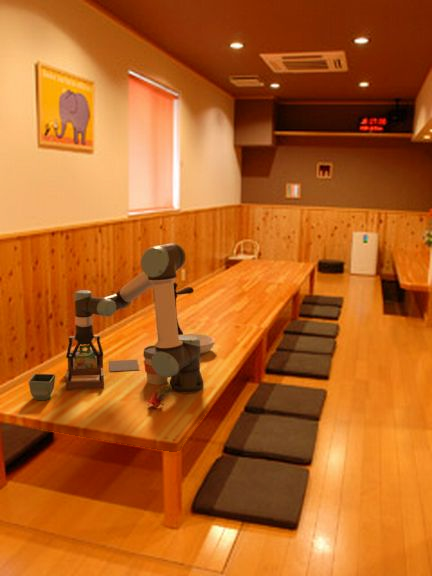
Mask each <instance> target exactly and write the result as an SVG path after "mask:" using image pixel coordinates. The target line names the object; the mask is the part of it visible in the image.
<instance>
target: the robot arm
mask: <svg viewBox="0 0 432 576" xmlns="http://www.w3.org/2000/svg"><path fill="white" fill-rule="evenodd" d="M186 259H187V256H186V252H185V249H184V248H183V247H182V246H181V245H179V244H177V243H175V242H174V243H173V242H170V243H166V244H161V245H160V244H159V245H154V246H152V247H150V248H147V249H146V250H145V251H144V252H143V254H142V256H141V258H140V266H141V267H140V268H141V271H142V272H140V273H139V274H138V275H136V276H135V277H134V278H132V280H130V281H129V282H127V283H126V284H125V285H124V286H122V287H121V288H120V289H119V290H118V291H116V292H115V293H113V294H109V295H106V296H103V297H97V296H93V292H92V291H91V290H87V289H81V290H77V291H75V292H74V302H73V303H74V313H75V315H74V320H75V321H74V322H75V335H74V336H73V335H69V336H68V341H69V342H68V347H67V351H66V355H65V358H66V359H68V358H69V359H70V360H71V366H73V369H75V358H74V356H75V354H76V352H77V350H79V349H80V346H82V345H90V349H91V350H93V352H94V353H95V355H96V368H97V364H99V363H100V360H99V358H100V357H101V356H103V357H104V351H102V350H103V348H102V343H101V341H100V339H101V335H100V334H97V335H94V332H93V330H94V329H93V327H94V326H93V322H94V321H93V315H98V316H101V317H112V316H113V315H114V314H115V313H116V311H118V310H121V309H125V308H127V307H128V306H130V305H131V304H132V302H133V301H134V300H136V299H137V298H138V297H139V296H141V295H142V294H143V293H144V292H146V291H148V290H149V289H150V288H151V287H152V294H153V304H154V313H155V314H154V315H155V322H156V323H155V324H156V332H157V333H156V334H157V341H156V342H155V344H154V345H155V352H156V353H154V355H153V356H152V359H151V365H152V367H153V369H154V371H155V372H157V374H158V375H160V376H162V377H165V378H167V379H169V378H170V380H169V385H171V388H172V389H171V391H174V392H175V393H180V394H181V393H182V394H193V393H197V392H200V391H201V390H202V389H203V390H204V379H203V377H202V372H201V354H200V347H201V346H200V340H199V339H198V338H197V337H193V336H184V334H181V335H182V336H180V335H178V326H177V320H178V315H177V316H176V310H177V304H176V305H175V295H174V284H173V283H175V280H176V279H177V271H178V270H180V269H182V268H183V266H184V265H185V264H186ZM93 340H94V341H96V345H97V347H98V349H97V348H96V347H95V345H94V343H93ZM74 341H76V345H75V347H74V349H73V352H72V354H71V355H70V351H72V345H73V342H74ZM97 350H99V351H100V354H99V353H98V352H97Z"/></svg>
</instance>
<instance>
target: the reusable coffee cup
mask: <svg viewBox="0 0 432 576" xmlns="http://www.w3.org/2000/svg"><path fill="white" fill-rule="evenodd" d="M154 353H156V352H155V344H154V345H148V346H146V347H145V348H143V353H142V355H143V358H144V361H143V365H144V370H145V373H146V379H147V382H148V383H149V384H150V385H163V384H166V383H167V382H168V378H165V377H162V376H160V375H158V374H157V372H155V371H154V369H153V367H152V365H151V359H152V356H153V355H154Z"/></svg>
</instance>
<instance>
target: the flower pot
mask: <svg viewBox="0 0 432 576" xmlns="http://www.w3.org/2000/svg"><path fill="white" fill-rule="evenodd" d="M55 383H56V374H54V373H52V374H51V373H34V374H33V376H32V377H31V378H30V379H29V381H28V385H29V391H30V395H31V397H33V399H34V400H35V401H47V400H49V398H50V397H51V395H52V393H53V391H54V389H55Z"/></svg>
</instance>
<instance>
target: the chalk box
mask: <svg viewBox="0 0 432 576" xmlns="http://www.w3.org/2000/svg"><path fill="white" fill-rule="evenodd" d="M84 348H86V349H84ZM87 368H96V355H95V353H94V352H93V350H92V349H91V347H90V345H89V344H88V345H85V344H84V345H80V346H79V349H78V350H77V352H76V354H75V369H87Z"/></svg>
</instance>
